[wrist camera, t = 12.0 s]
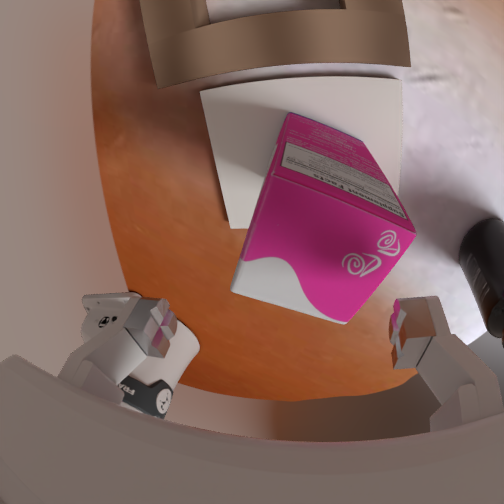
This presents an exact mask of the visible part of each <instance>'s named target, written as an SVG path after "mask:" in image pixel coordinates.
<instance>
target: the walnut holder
mask: <svg viewBox="0 0 504 504" xmlns="http://www.w3.org/2000/svg"><path fill="white" fill-rule="evenodd" d="M139 1H140V7H141V12H142V18H143V23H144V28H145V33H146V38H147V43H148V48H149V53H150V57H151V62H152V66H153V71H154V75H155V80H156V84H157V88H158V89H161V88H164V87H168V86H172V85H176V84H180V83H183V82H187V81H191V80H195V79H199V78H204V77H208V76H213V75H218V74H223V73H228V72H234V71H240V70H246V69H253V68H261V67H269V66H278V65H290V64H305V63H366V64H381V65H392V66H403V67H411V62H410V51H409V42H408V34H407V27H406V21H405V15H404V9H403V4H402V0H339V4H340V9H314V10H296V11H284V12H275V13H267V14H260V15H253V16H248V17H242V18H237V19H232V20H227V21H223V22H218V23H214V24H210V20H209V15H208V10H207V5H206V0H139Z"/></svg>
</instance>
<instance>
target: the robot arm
mask: <svg viewBox="0 0 504 504" xmlns="http://www.w3.org/2000/svg"><path fill="white" fill-rule="evenodd" d="M82 303H83V306H84V308H85V310H86V312H87V313H88V315H87V316H86V318H85V320H84V322H83V324H82V327H81V335H82V338H83V341H84V344H83V345H82V346H81V347H79V348H78V349H76V350H75V351H74V352H72V353H71V354H70V356H69V357H68V359H67V361H66V363H65V365H64V366H63V368H62V370H61V371H60V373H59V375H58V377H55V376H53V375H52V374H49V373H48V372H46V371H44V370H42V369H40V368H39V367H37V366H35V365H34V364H32V363H30V362H28V361H27V360H25V359H24V358H22V357H21V356H18V355H12V356H10V357H8V358H6V359H5V360H3V361H2V362H1V363H0V504H504V409H503V403H502V398H501V393H500V389H499V384H498V380H497V376H496V375H495V374H494V373H493V372H492V371H491V370H490V368H489V367H488V366H487V365H486V364H485V363H484V362H483V361H482V360H481V359H480V358H479V357H478V356H477V355H476V354H475V353H474V352H473V351H472V350H471V349H470V348H469V347H468V346H467V345H466V344H465V343H463V342H462V341H461V340H460V339H459V338H458V337H457V336H456V335H455V334H451V333H450V329H449V326H448V323H447V320H446V317H445V314H444V311H443V308H442V305H441V302H440V299H439V297H438V296H427V297H413V298H400V299H396V300H395V302H394V306H393V307H394V313H393V314H392V315H391V317H390V322H389V339H390V342H391V343H392V344H393V346H394V347H393V350H392V352H391V354H392V362H393V369H405V368H416V370H417V371H418V373H419V374H420V375H421V377H422V378H423V379H424V381H425V382H426V383H427V385H428V386H429V388H430V389H431V391H432V392H433V393H434V395H435V396H436V398H437V399H438V401H439V402H440V403H441V405H442V406H441V407H440V408H439V409H438V410H437V411H436V412H435V413H434V414H433V415H432V416H431V417H430V429H431V432H429V433H424V434H418V435H413V436H406V437H399V438H391V439H381V440H370V441H354V442H299V441H283V440H270V439H260V438H253V437H245V436H238V435H232V434H226V433H220V432H215V431H209V430H205V429H200V428H196V427H191V426H187V425H183V424H179V423H175V422H171V421H168V420H164V417H165V415H166V413H167V410H168V408H169V405H170V402H171V399H172V395H173V390H174V388H175V386H176V384H177V382H178V381H179V379H180V377H181V375H182V374H183V372H184V371H185V369H186V367H187V366H188V364H189V363H190V362H191V360H192V359H193V358H194V357H195V355H196V354H197V353H198V352H199V349H200V346H199V342H198V340H197V339H196V337H195V336H194V334H193V333H192V332H191V331H190V330H189V329H188V328H187V327H186V326H185V325H183V324H182V323H181V322H180V321H178V320H177V318H176V316H175V314H174V313H173V312H172V311H171V310H169V306H170V305H169V303H168V302H167V300H166V299H161V298H150V297H142V296H140V295H139V294H137V293H134V292H126V293H110V294H93V295H84V296H83V299H82Z"/></svg>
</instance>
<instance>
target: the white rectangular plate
mask: <svg viewBox="0 0 504 504" xmlns="http://www.w3.org/2000/svg"><path fill="white" fill-rule="evenodd" d="M200 96H201V100H202V105H203V109H204V114H205V119H206V123H207V128H208V132H209V137H210V141H211V146H212V150H213V155H214V159H215V163H216V168H217V172H218V176H219V181H220V185H221V189H222V194H223V198H224V202H225V207H226V211H227V215H228V219H229V223H230V228H249V226H250V222H251V219H252V216H253V213H254V210H255V206H256V203H257V200H258V197H259V194H260V190H261V187H262V184H263V181H264V178H265V174H266V171H267V168H268V165H269V162H270V159H271V156H272V152H273V150H274V147H275V144H276V141H277V138H278V136H279V133H280V130H281V128H282V125H283V123H284V120H285V118H286V116H287V114H288V113H289V112H292V113H295V114H298V115H301V116H304V117H307V118H309V119H312V120H315V121H317V122H320V123H322V124H325V125H327V126H329V127H332V128H334V129H336V130H339V131H341V132H343V133H346V134H348V135H350V136H352V137H354V138H357V139H359V140H361V141H363V143H364V144H365V145H366V147H367V148H368V150H369V151H370V153H371V154H372V156H373V158H374V159H375V161H376V162H377V164H378V165H379V167H380V168H381V170H382V172H383V173H384V175H385V176H386V178H387V180H388V181H389V183H390V185H391V186H392V188H393V190H394V191H395V193H396V195H397V197H398V192H399V182H400V171H401V156H402V129H403V104H402V80H399V79H390V78H378V77H360V76H313V77H294V78H281V79H271V80H262V81H254V82H247V83H240V84H234V85H228V86H222V87H217V88H212V89H207V90H203V91H200Z"/></svg>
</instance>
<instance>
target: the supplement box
mask: <svg viewBox="0 0 504 504" xmlns="http://www.w3.org/2000/svg"><path fill="white" fill-rule="evenodd" d="M416 235H417V233H416V231H415V228H414V226H413V224H412V222H411V220H410V218H409V217H408V215H407V213H406V211H405V209H404V207H403V206H402V204H401V202H400V200H399V198H398V197H397V195H396V193H395V191H394V190H393V188H392V186H391V185H390V183H389V181H388V180H387V178H386V176H385V175H384V173H383V172H382V170H381V168H380V167H379V165H378V164H377V162H376V161H375V159H374V158H373V156H372V154H371V153H370V151H369V150H368V148H367V147H366V145H365V144H364V143H363V141H361V140H359V139H357V138H354V137H352V136H350V135H348V134H346V133H343V132H341V131H339V130H336V129H334V128H332V127H329V126H327V125H325V124H322V123H320V122H317V121H315V120H312V119H309V118H307V117H304V116H301V115H298V114H295V113H292V112H289V113H288V114H287V116H286V118H285V120H284V123H283V125H282V128H281V130H280V133H279V136H278V138H277V141H276V144H275V147H274V150H273V152H272V156H271V159H270V162H269V165H268V168H267V171H266V174H265V178H264V181H263V184H262V187H261V190H260V194H259V197H258V200H257V203H256V206H255V210H254V213H253V216H252V219H251V222H250V226H249V229H248V232H247V235H246V238H245V242H244V245H243V248H242V251H241V254H240V258H239V261H238V264H237V267H236V270H235V273H234V276H233V280H232V283H231V287H230V290H231V291H232V292H234V293H237V294H241V295H244V296H247V297H251V298H254V299H258V300H261V301H264V302H268V303H272V304H275V305H278V306H282V307H286V308H289V309H292V310H296V311H299V312H302V313H306V314H309V315H312V316H315V317H319V318H322V319H326V320H329V321H332V322H336V323H340V324H346V323H347V322H348V321H349V320H350V319H351V318H352V317H353V316H354V315H355V313H356V312H357V311H358V310H359V309H360V308H361V306H362V305H363V304H364V303H365V302H366V301H367V299H368V298H369V297H370V296H371V295H372V293H373V292H374V291H375V290H376V288H377V287H378V286H379V285H380V283H381V282H382V281H383V280H384V278H385V277H386V276H387V275H388V273H389V272H390V271H391V269H392V268H393V267H394V266H395V264H396V263H397V262H398V260H399V259H400V258H401V256H402V255H403V254H404V252H405V251H406V249H407V248H408V247H409V245H410V244H411V243H412V241H413V240H414V238H415V237H416Z"/></svg>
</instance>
